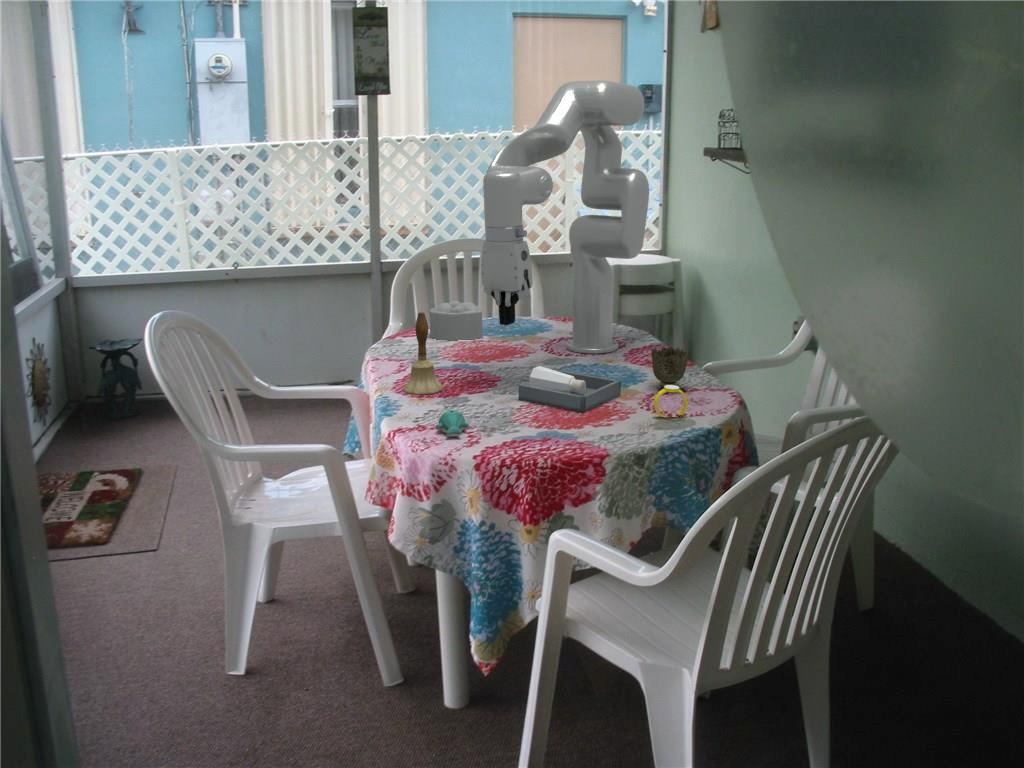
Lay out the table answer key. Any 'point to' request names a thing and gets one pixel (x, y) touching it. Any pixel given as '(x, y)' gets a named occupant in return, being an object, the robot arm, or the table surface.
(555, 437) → the table surface
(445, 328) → the lumpy-topped squat cylinder
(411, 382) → the hand bell
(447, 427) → the whale figurine
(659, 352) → the cup
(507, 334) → the table surface
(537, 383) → the pepper shaker
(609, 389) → the tray
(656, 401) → the watch
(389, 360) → the table surface
